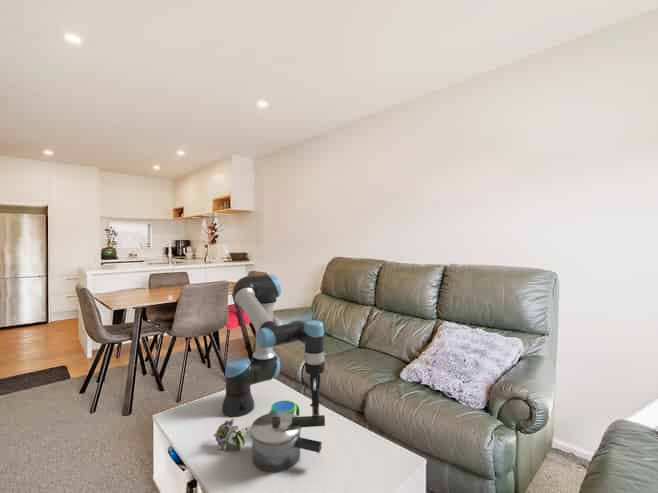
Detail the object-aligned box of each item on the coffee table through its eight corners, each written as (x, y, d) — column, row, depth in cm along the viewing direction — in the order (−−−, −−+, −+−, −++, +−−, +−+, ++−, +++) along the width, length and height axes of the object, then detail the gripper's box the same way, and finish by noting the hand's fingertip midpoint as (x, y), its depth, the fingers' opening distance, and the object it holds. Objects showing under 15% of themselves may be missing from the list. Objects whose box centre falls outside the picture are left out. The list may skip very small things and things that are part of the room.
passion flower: (221, 462, 132) (205, 435, 134) (241, 442, 141) (226, 418, 143) (236, 456, 126) (219, 428, 128) (255, 436, 135) (239, 410, 137)
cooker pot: (268, 437, 139) (267, 414, 139) (328, 451, 130) (328, 426, 129) (242, 465, 122) (242, 438, 122) (310, 484, 113) (310, 455, 112)
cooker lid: (247, 446, 117) (247, 434, 117) (254, 417, 136) (254, 407, 135) (326, 441, 119) (326, 429, 119) (322, 413, 138) (322, 403, 138)
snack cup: (294, 417, 154) (293, 396, 154) (305, 428, 145) (304, 405, 145) (262, 428, 145) (261, 405, 145) (271, 441, 137) (271, 416, 136)
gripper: (324, 367, 123) (325, 430, 124) (324, 355, 136) (325, 411, 137) (303, 368, 123) (305, 430, 124) (306, 355, 136) (307, 412, 137)
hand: (315, 420), depth 130 cm, fingers closed
